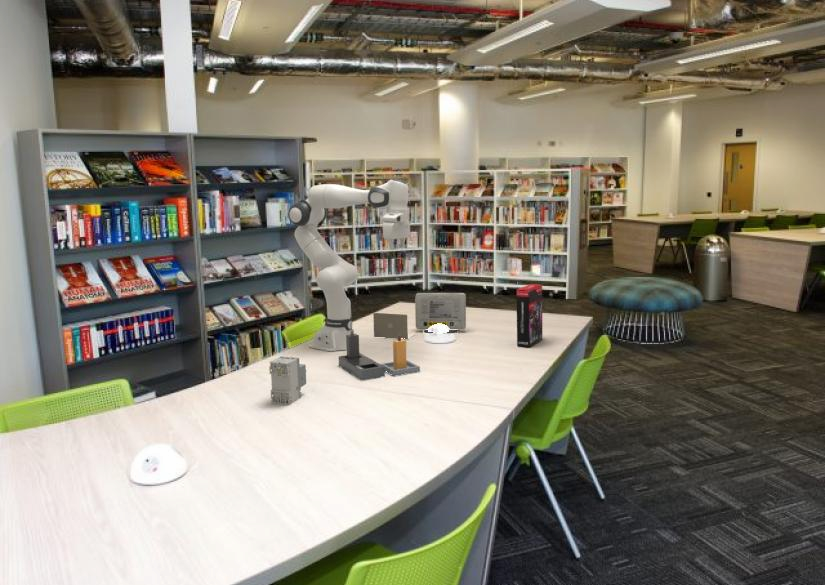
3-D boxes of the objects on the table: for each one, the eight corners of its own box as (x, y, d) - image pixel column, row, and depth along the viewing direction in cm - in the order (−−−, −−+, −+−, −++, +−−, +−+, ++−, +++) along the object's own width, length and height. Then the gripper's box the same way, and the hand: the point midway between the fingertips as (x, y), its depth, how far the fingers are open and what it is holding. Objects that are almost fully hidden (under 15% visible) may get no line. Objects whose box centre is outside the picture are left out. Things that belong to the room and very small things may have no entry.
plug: (393, 368, 267) (392, 334, 265) (403, 367, 269) (402, 333, 267) (397, 370, 265) (396, 336, 262) (406, 369, 267) (405, 335, 264)
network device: (466, 330, 335) (465, 292, 331) (465, 334, 326) (465, 295, 323) (416, 330, 337) (416, 292, 334) (415, 334, 329) (414, 295, 325)
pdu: (338, 365, 275) (338, 356, 275) (360, 362, 280) (360, 352, 279) (362, 380, 255) (361, 370, 254) (384, 376, 259) (384, 366, 259)
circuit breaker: (309, 392, 242) (307, 353, 239) (289, 404, 229) (287, 363, 226) (291, 390, 244) (289, 351, 242) (271, 402, 231) (268, 362, 228)
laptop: (416, 334, 328) (415, 309, 326) (407, 340, 317) (407, 314, 314) (383, 332, 334) (382, 307, 332) (373, 338, 323) (373, 312, 320)
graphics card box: (529, 348, 297) (530, 290, 292) (515, 346, 301) (515, 289, 296) (542, 340, 311) (543, 284, 307) (529, 338, 315) (530, 283, 310)
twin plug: (347, 362, 274) (345, 329, 272) (356, 360, 276) (355, 328, 274) (350, 364, 272) (348, 330, 269) (359, 362, 274) (358, 329, 271)
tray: (380, 368, 269) (380, 363, 269) (406, 364, 275) (406, 359, 275) (393, 376, 259) (393, 371, 259) (419, 371, 265) (419, 366, 264)
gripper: (401, 216, 291) (400, 246, 294) (380, 217, 273) (379, 249, 275) (413, 216, 289) (412, 247, 291) (394, 218, 270) (392, 251, 273)
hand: (396, 248), depth 283 cm, fingers open, 8 cm apart
